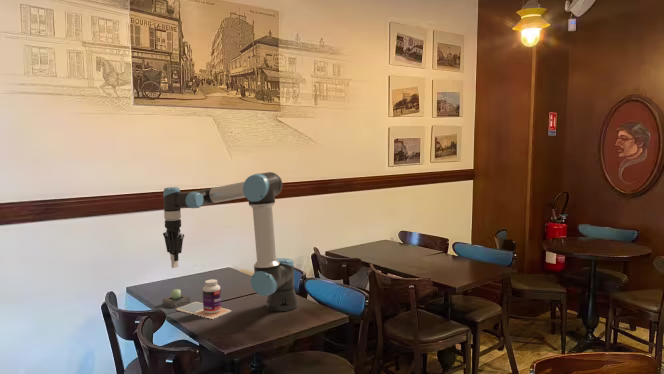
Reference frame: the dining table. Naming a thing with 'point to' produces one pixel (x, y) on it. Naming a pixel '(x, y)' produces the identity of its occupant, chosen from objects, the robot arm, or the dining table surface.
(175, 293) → the button
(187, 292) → the dining table surface
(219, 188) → the robot arm
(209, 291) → the pill bottle
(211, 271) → the dining table surface
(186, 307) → the board
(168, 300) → the button housing
